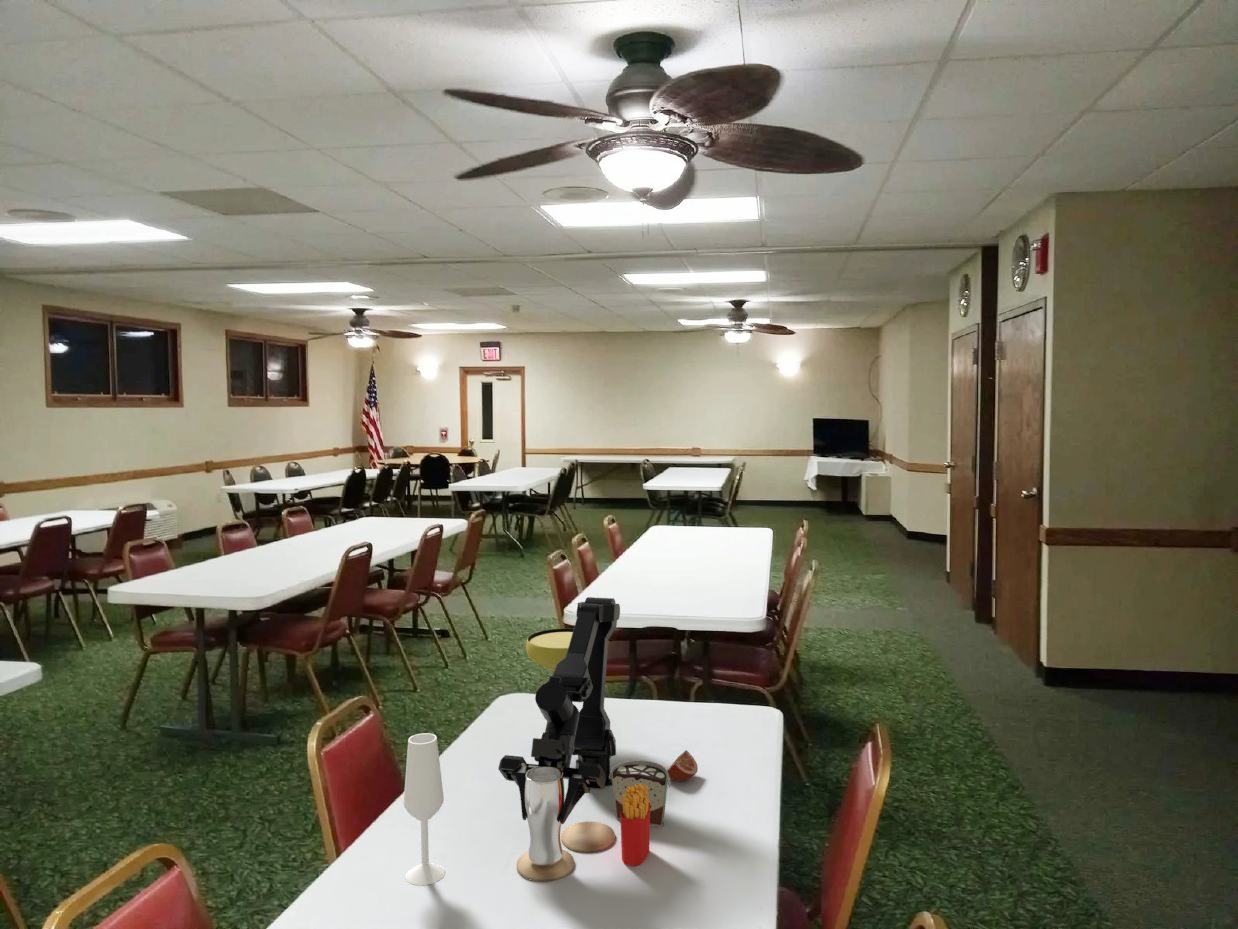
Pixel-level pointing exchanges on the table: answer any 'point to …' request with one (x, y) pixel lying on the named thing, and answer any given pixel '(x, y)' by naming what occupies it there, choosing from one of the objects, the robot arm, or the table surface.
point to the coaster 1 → (545, 868)
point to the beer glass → (544, 813)
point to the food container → (644, 775)
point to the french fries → (635, 825)
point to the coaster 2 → (587, 836)
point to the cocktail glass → (549, 646)
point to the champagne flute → (423, 799)
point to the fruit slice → (683, 767)
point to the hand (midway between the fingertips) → (542, 821)
